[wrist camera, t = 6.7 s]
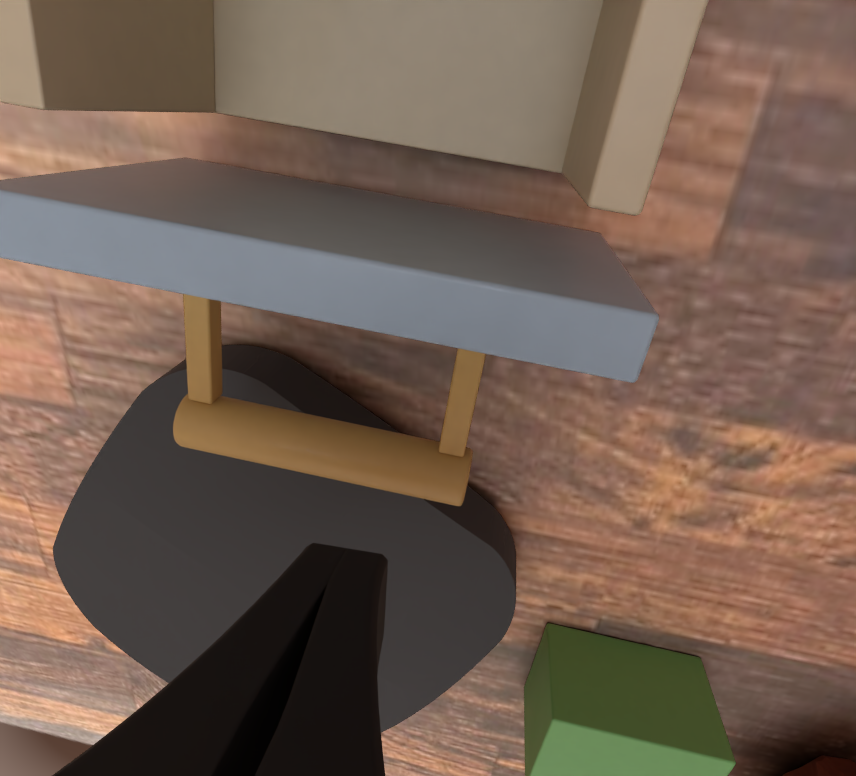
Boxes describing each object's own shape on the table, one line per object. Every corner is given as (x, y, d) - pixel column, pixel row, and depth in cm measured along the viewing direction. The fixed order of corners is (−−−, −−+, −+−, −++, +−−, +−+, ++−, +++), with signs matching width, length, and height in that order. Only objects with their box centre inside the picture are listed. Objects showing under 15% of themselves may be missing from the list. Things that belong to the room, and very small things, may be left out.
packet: (701, 656, 21) (737, 764, 18) (665, 720, 23) (692, 828, 20) (546, 621, 22) (552, 719, 18) (523, 686, 24) (524, 787, 20)
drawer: (544, 431, 17) (558, 601, 11) (193, 359, 18) (27, 482, 12) (798, -446, 9) (1316, -1484, 3) (154, -512, 10) (-400, -1468, 4)
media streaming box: (219, 292, 18) (165, 322, 15) (562, 545, 20) (568, 611, 17) (69, 546, 24) (12, 600, 21) (344, 717, 26) (324, 784, 24)
